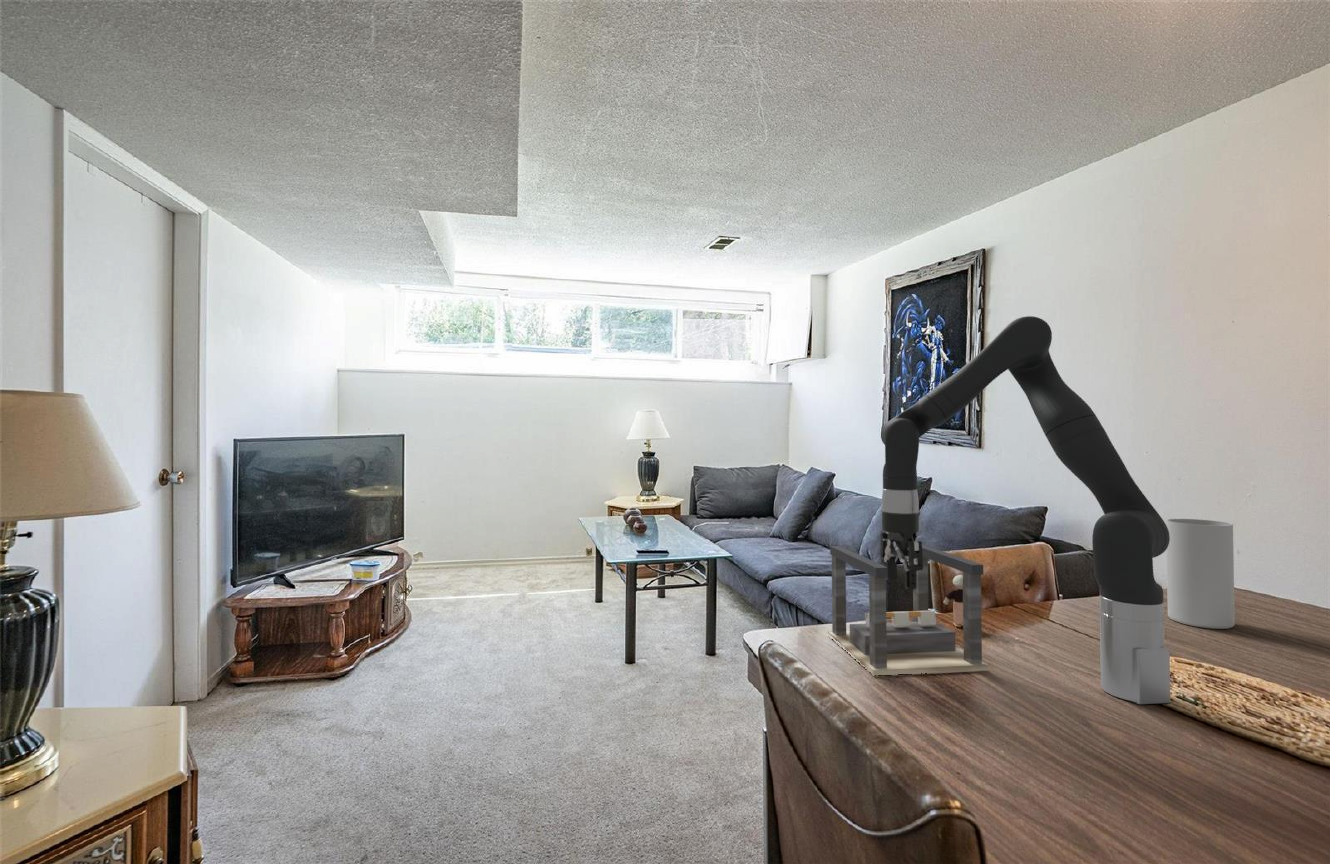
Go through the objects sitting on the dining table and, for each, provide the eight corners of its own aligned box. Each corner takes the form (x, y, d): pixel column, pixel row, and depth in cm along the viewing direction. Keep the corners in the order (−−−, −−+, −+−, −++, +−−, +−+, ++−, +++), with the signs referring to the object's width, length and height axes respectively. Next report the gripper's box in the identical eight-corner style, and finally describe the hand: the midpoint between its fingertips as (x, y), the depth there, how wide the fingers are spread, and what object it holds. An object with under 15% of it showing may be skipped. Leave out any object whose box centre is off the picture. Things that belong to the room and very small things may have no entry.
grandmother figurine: (973, 624, 150) (973, 573, 150) (980, 629, 146) (979, 577, 146) (941, 623, 150) (940, 573, 151) (947, 628, 147) (946, 576, 147)
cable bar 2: (983, 574, 120) (983, 564, 120) (972, 574, 120) (971, 564, 120) (920, 552, 144) (920, 543, 144) (911, 552, 144) (910, 543, 144)
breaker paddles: (936, 624, 131) (934, 611, 132) (869, 627, 129) (868, 613, 130) (932, 623, 133) (930, 610, 133) (866, 626, 131) (865, 612, 132)
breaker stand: (988, 670, 120) (987, 574, 120) (873, 676, 118) (872, 578, 118) (924, 632, 144) (923, 551, 144) (827, 636, 142) (827, 554, 142)
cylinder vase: (1157, 618, 153) (1155, 520, 154) (1183, 612, 159) (1182, 517, 159) (1218, 632, 142) (1217, 527, 142) (1245, 625, 147) (1243, 523, 148)
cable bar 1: (887, 577, 118) (887, 567, 118) (876, 578, 118) (876, 567, 118) (840, 554, 142) (840, 545, 142) (830, 554, 142) (830, 546, 142)
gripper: (934, 513, 125) (934, 591, 124) (900, 505, 139) (901, 576, 139) (899, 514, 124) (900, 593, 124) (869, 506, 138) (869, 577, 138)
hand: (900, 584), depth 131 cm, fingers open, 8 cm apart
